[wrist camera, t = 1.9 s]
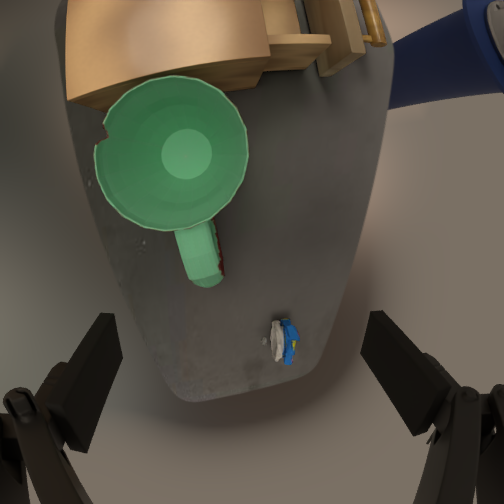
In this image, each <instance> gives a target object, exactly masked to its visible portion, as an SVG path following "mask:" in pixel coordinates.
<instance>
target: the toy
mask: <svg viewBox="0 0 504 504" xmlns="http://www.w3.org/2000/svg"><path fill="white" fill-rule="evenodd" d="M280 325H281V326H280ZM270 340H271V350H272V356H273V358H274V359H275V361H279V358H284V364H286V365H291V364H292V363H293V359H292V355H295V344H296V340H297V341H300V337H299V334H298V332H297V330H296V328H295V326H293V325H291V322H290V319H280V321H279V320H275V321H273V322H272V329H271V336H270ZM261 343H262V345H265V346H266V337H263V338H262V340H261ZM291 343H292V344H291Z"/></svg>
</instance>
